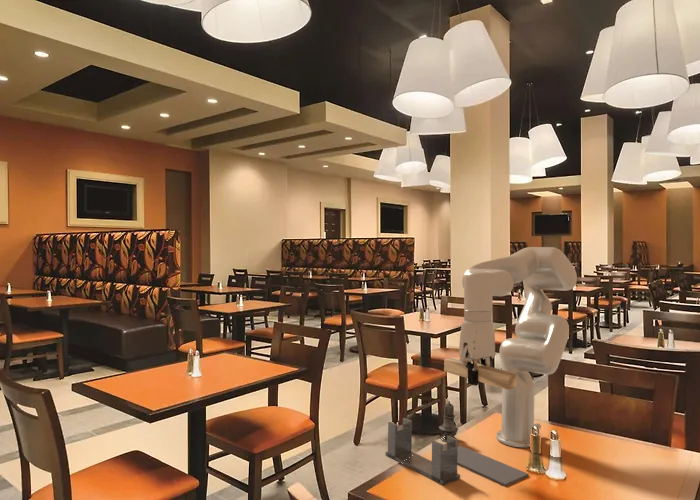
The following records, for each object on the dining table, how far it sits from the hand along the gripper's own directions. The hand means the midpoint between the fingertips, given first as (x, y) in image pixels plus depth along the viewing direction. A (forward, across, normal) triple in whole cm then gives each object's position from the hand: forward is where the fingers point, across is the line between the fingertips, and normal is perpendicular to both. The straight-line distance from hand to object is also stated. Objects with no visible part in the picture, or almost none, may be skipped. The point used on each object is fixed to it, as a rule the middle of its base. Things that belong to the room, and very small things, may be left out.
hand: (478, 382), depth 138 cm
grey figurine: (+23, -7, -17) cm, 30 cm away
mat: (+23, 0, +1) cm, 23 cm away
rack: (+22, +14, -8) cm, 28 cm away
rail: (-1, 0, 0) cm, 1 cm away
